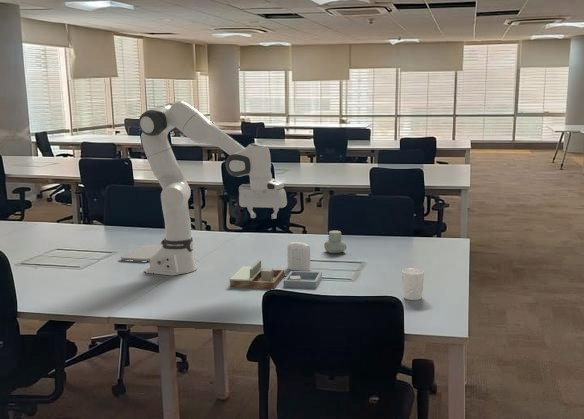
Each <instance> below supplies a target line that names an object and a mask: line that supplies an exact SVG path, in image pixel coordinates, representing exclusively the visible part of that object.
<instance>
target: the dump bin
mask: <svg viewBox="0 0 584 419" xmlns="http://www.w3.org/2000/svg"><path fill="white" fill-rule="evenodd" d="M290 276H300V278H301V281H300V280H290ZM322 278H323V271H299V270H290V271H289V273H288V274H287V275H286V277H284V279H283V280H282V282H283V288H299V289H300V288H302V289H303V288H304V289H305V288H306V289H317V287H318V286H319V284H320V282H321V281H322Z"/></svg>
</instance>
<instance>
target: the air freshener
mask: <svg viewBox="0 0 584 419" xmlns="http://www.w3.org/2000/svg"><path fill="white" fill-rule="evenodd" d="M323 245H324V246H323V247H324V250H325V251H326V252H327V253H329V254H341V253H342V252H345V251H346V249H347V244H346V241H344V240H342V232H341V231H340V230H329V231H328V240H326V241H325V242H324V243H323Z"/></svg>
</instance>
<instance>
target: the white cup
mask: <svg viewBox="0 0 584 419" xmlns="http://www.w3.org/2000/svg"><path fill="white" fill-rule="evenodd" d="M401 276H402V277H401V278H402V291H403V299H405V300H408V301H409V300H411V301H418V300H422V299H423V291H424V281H425V280H424V277H425V271H424V270H423V269H421V268H403V269H402V270H401Z"/></svg>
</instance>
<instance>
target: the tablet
mask: <svg viewBox="0 0 584 419" xmlns="http://www.w3.org/2000/svg"><path fill="white" fill-rule="evenodd" d="M161 248H162V244H160V245H159V244H144V245H142V246H140V247H139V246H138V247H137V248H136V249H134V250H131V251H129V252H126V253H125V254H123V255H121V256H120V259H121V260H122V259H123V260H133V261H150V259H151V257H152V256H153V255H154V254H155V253H156V252H157V251H158V250H160V249H161ZM123 260H122V261H123Z"/></svg>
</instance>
